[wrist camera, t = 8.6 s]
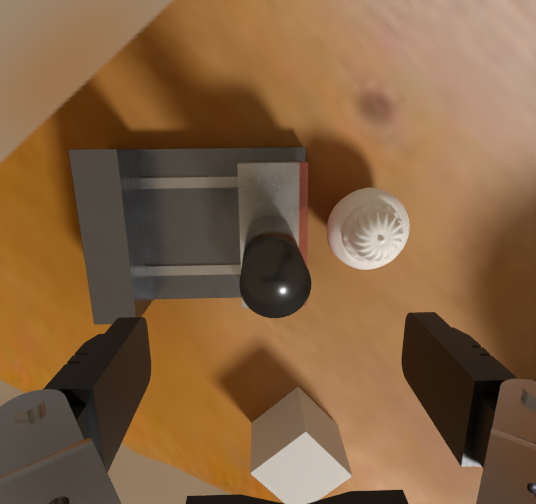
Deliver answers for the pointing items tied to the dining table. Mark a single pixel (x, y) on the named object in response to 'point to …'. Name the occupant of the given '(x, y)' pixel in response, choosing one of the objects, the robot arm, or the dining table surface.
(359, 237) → the white rounded ridged piece
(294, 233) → the sliding jaw
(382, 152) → the dining table surface
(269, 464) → the white cube
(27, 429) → the robot arm
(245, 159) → the jaw track
